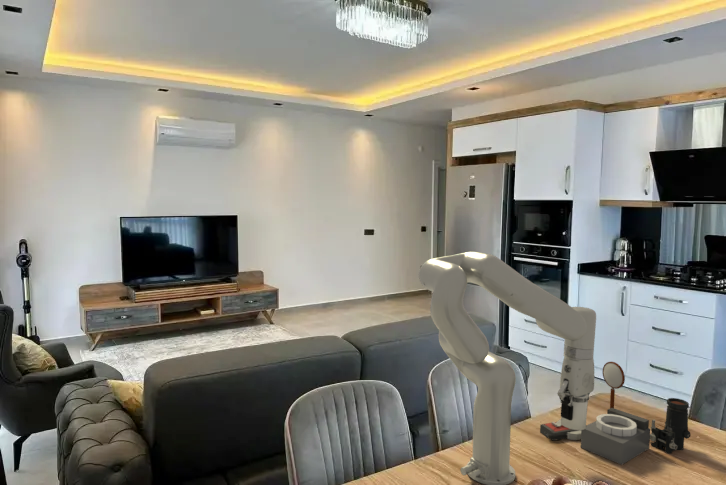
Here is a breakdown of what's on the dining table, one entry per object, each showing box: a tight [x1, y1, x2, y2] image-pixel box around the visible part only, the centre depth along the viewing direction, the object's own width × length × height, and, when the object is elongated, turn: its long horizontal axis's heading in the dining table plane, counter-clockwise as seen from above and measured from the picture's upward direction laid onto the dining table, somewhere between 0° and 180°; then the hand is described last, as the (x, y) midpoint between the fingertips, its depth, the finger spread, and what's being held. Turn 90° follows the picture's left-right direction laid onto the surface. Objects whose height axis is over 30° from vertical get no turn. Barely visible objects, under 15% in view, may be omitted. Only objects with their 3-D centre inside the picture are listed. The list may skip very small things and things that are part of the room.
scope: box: [650, 397, 692, 455], centre depth 146 cm, size 8×14×10 cm
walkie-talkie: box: [539, 418, 581, 441], centre depth 155 cm, size 9×4×20 cm
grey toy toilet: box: [580, 407, 651, 466], centre depth 146 cm, size 16×12×8 cm
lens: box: [560, 391, 589, 430], centre depth 138 cm, size 6×6×9 cm
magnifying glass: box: [602, 361, 626, 409], centre depth 163 cm, size 9×2×20 cm, turn 18°
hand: (573, 415), depth 138 cm, fingers closed on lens, 6 cm apart
